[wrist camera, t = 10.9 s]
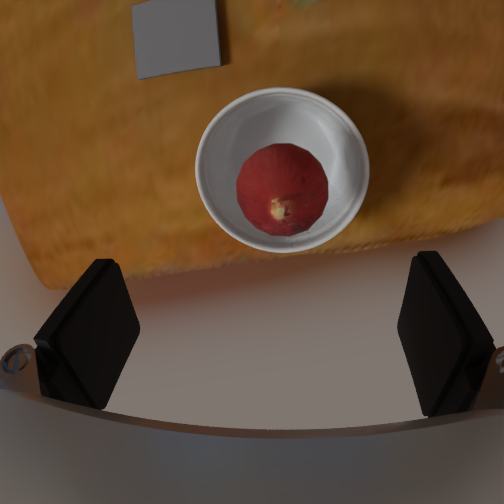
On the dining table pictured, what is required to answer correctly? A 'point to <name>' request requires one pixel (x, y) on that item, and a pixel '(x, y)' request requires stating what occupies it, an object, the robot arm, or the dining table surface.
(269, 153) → the onion
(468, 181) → the dining table surface
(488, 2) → the dining table surface
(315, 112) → the ramekin
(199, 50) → the coaster
